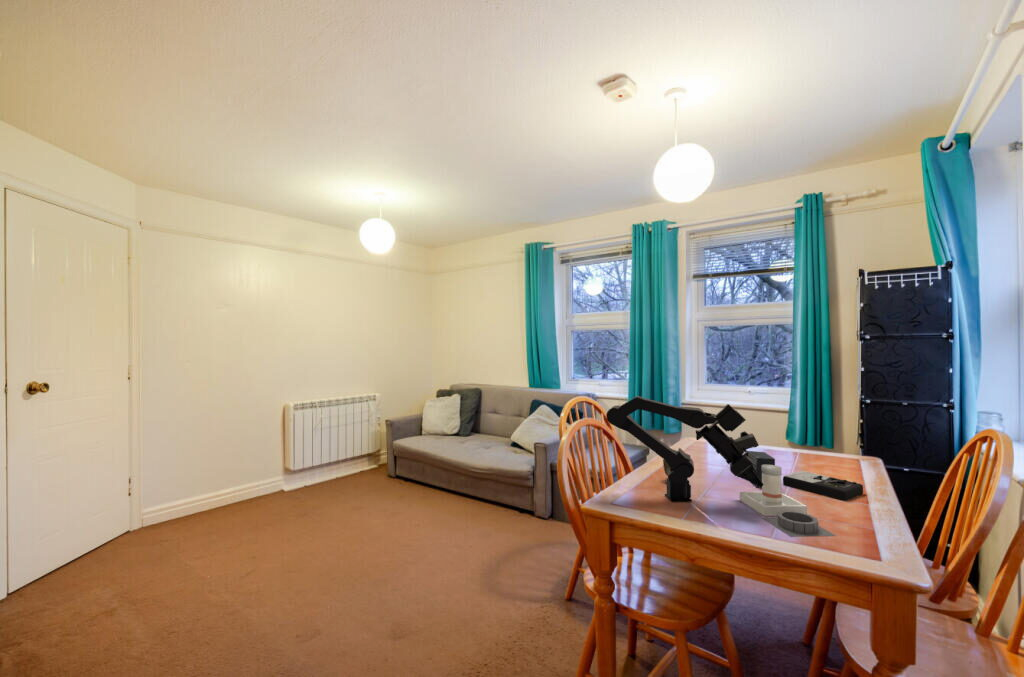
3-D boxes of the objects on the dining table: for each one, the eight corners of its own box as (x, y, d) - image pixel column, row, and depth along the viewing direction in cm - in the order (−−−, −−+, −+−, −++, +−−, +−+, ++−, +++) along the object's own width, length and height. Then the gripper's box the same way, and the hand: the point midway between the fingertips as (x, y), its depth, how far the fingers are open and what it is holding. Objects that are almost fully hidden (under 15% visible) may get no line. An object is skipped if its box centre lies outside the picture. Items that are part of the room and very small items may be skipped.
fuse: (774, 511, 129) (774, 470, 129) (758, 505, 134) (757, 465, 134) (785, 508, 131) (785, 467, 131) (768, 502, 136) (768, 463, 136)
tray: (764, 519, 126) (764, 506, 126) (739, 503, 138) (739, 492, 138) (807, 518, 126) (807, 506, 126) (778, 502, 139) (778, 491, 139)
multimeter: (845, 502, 140) (845, 487, 140) (782, 486, 156) (782, 471, 156) (863, 495, 147) (863, 480, 147) (801, 480, 163) (801, 466, 163)
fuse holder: (790, 540, 112) (790, 526, 112) (762, 521, 124) (761, 509, 124) (836, 539, 113) (836, 525, 113) (803, 520, 125) (803, 508, 125)
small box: (776, 489, 152) (776, 458, 152) (756, 487, 153) (755, 457, 153) (765, 479, 162) (765, 451, 162) (746, 478, 164) (746, 450, 164)
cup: (682, 485, 156) (682, 463, 156) (660, 482, 159) (660, 460, 160) (686, 480, 162) (686, 458, 162) (665, 477, 166) (665, 455, 166)
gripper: (743, 430, 127) (788, 473, 123) (738, 419, 144) (776, 457, 140) (713, 454, 130) (755, 497, 126) (711, 441, 147) (748, 478, 143)
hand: (760, 481), depth 134 cm, fingers open, 9 cm apart
